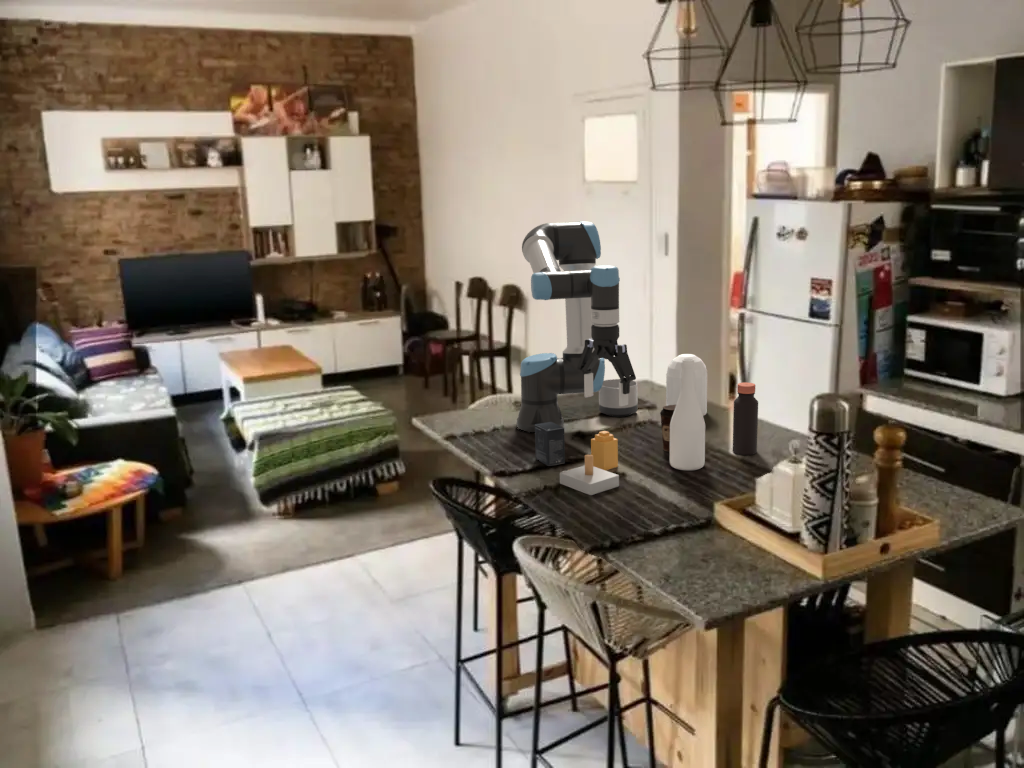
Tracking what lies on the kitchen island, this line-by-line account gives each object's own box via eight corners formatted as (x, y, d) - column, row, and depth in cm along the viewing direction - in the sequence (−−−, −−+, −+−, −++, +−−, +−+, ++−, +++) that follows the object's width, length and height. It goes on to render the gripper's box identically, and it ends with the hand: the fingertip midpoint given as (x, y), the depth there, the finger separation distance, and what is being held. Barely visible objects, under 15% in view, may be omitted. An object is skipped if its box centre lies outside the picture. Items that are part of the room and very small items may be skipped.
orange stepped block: (591, 466, 252) (590, 432, 249) (605, 462, 255) (604, 428, 252) (604, 470, 248) (603, 436, 245) (617, 466, 251) (617, 432, 248)
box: (565, 463, 255) (564, 427, 253) (547, 466, 253) (547, 430, 250) (552, 456, 262) (551, 420, 260) (535, 459, 260) (534, 423, 257)
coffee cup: (688, 455, 259) (689, 411, 255) (659, 454, 260) (659, 410, 257) (689, 445, 267) (689, 403, 264) (660, 445, 268) (660, 402, 265)
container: (665, 407, 310) (665, 350, 305) (705, 407, 308) (706, 349, 303) (666, 417, 297) (667, 358, 292) (708, 418, 295) (709, 358, 290)
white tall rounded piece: (684, 473, 243) (685, 365, 236) (662, 464, 252) (663, 358, 244) (711, 467, 248) (713, 360, 240) (689, 458, 256) (691, 354, 249)
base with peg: (552, 480, 241) (551, 452, 240) (580, 472, 247) (580, 444, 245) (590, 495, 230) (590, 465, 228) (619, 486, 236) (618, 456, 234)
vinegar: (758, 449, 261) (760, 382, 256) (754, 456, 255) (756, 388, 250) (735, 447, 264) (736, 380, 259) (730, 454, 258) (731, 386, 253)
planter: (639, 418, 298) (639, 387, 295) (600, 419, 298) (600, 388, 295) (635, 408, 310) (635, 378, 308) (597, 409, 310) (597, 379, 308)
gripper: (563, 320, 249) (565, 395, 254) (628, 331, 230) (629, 411, 235) (583, 317, 254) (584, 390, 259) (649, 327, 235) (649, 406, 240)
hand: (605, 400), depth 247 cm, fingers open, 13 cm apart
